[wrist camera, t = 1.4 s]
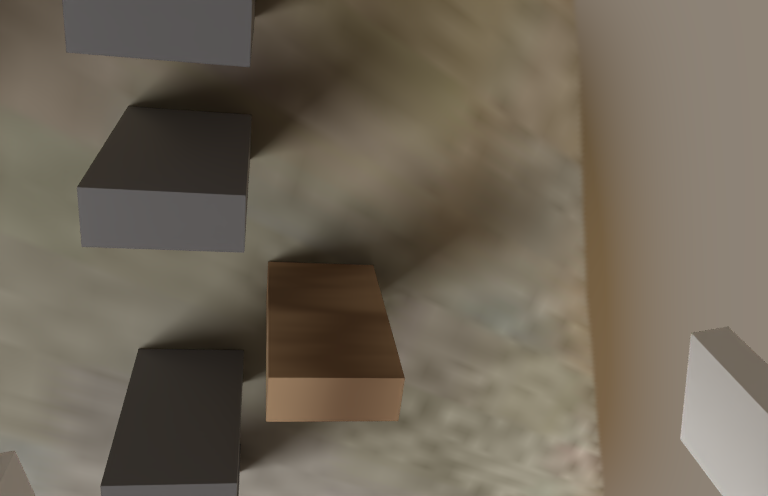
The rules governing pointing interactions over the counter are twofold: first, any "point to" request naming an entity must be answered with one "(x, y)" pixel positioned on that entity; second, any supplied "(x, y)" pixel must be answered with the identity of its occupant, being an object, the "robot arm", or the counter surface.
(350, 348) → the walnut domino
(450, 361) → the counter surface
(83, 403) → the counter surface
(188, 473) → the domino
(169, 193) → the domino
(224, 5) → the domino
